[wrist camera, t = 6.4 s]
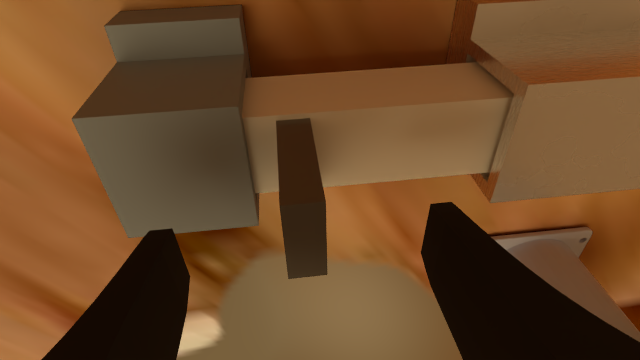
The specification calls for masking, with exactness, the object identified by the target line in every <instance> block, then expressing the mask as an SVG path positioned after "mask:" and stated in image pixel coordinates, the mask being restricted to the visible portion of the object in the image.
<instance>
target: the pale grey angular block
mask: <svg viewBox="0 0 640 360" xmlns="http://www.w3.org/2000/svg"><path fill="white" fill-rule="evenodd" d="M513 96H514V93H513V92H512V91H511V90H509V89H508V88H507V87H506V86H505V85H504V84H502V83H501V82H500V81H499V80H498V79H497V78H496V77H494V76H493V75H492V74H491V73H490V72H489V71H487V70H486V69H485V68H484V67H483V66H482V65H480V64H479V63H478V62H472V63H458V64H444V65H429V66H415V67H400V68H386V69H371V70H357V71H343V72H328V73H314V74H299V75H285V76H271V77H256V78H245V88H244V98H243V108H242V118H243V124H244V130H245V136H246V142H247V148H248V154H249V160H250V166H251V172H252V177H253V183H254V189H255V193H266V192H278V191H279V203H280V213H281V221H282V229H283V238H284V246H285V254H286V262H287V271H288V278H289V279H292V278H301V277H310V276H320V275H327V239H326V201H325V195H324V190H323V187H333V186H344V185H355V184H366V183H377V182H388V181H399V180H410V179H421V178H432V177H443V176H454V175H465V174H476V173H487V172H490V171H491V168H492V165H493V161H494V158H495V155H496V152H497V148H498V145H499V142H500V139H501V135H502V132H503V129H504V125H505V122H506V119H507V116H508V112H509V109H510V106H511V103H512V99H513Z"/></svg>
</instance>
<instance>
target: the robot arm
mask: <svg viewBox="0 0 640 360" xmlns="http://www.w3.org/2000/svg"><path fill="white" fill-rule="evenodd" d="M592 233H593V232H592V230H591V229H590V228H589V227H580V228H571V229H561V230H551V231H541V232H532V233H522V234H512V235H503V236H493V237H490V236H489V235H488V234H487V233H486V232H485V231H484V230H482V229H481V228H480V227H479V226H478V225H477V224H476V223H475V222H473V221H472V220H471V219H470V218H469V217H468V216H467V215H466V214H465V213H463V212H462V211H461V210H460V209H459V208H458V207H457V206H456V205H454V204H453V203H452V202H446V203H436V204H431V205H430V210H429V215H428V220H427V225H426V230H425V235H424V240H423V245H422V250H421V255H422V258H423V262H424V265H425V269H426V272H427V275H428V279H429V282H430V285H431V287H432V290H433V292H434V294H435V297H436V299H437V301H438V304H439V306H440V308H441V311H442V313H443V315H444V317H445V320H446V322H447V324H448V326H449V329H450V331H451V333H452V335H453V338H454V340H455V342H456V344H457V347H458V349H459V351H460V354H461V356H462V358H463V360H640V332H639V331H638V330H637V329H636V327H635V326H634V325H633V324H632V322H631V321H630V320H629V319H628V318H627V316H626V315H625V314H624V313H623V312H622V310H621V309H620V308H619V307H618V306H617V304H616V303H615V302H614V301H613V299H612V298H611V297H610V296H609V295H608V293H607V292H606V291H605V290H604V289H603V287H602V286H601V285H600V284H599V282H598V281H597V280H596V279H595V278H594V276H593V275H592V274H591V273H590V272H589V270H588V269H587V268H586V267H585V266H584V264H583V263H582V262H581V261H580V259H579V256H580V254H581V253H582V251H583V249H584V247H585V246H586V244H587V242H588V241H589V239H590V237H591V235H592ZM189 282H190V275H189V272H188V270H187V267H186V264H185V262H184V259H183V256H182V253H181V251H180V248H179V245H178V243H177V240H176V237H175V234H174V232H173V229H172V228H171V229H160V230H150V231H149V232H148V233H147V234H146V235H145V236H144V238H143V239H142V240H141V242H140V243H139V244H138V246H137V247H136V248H135V250H134V251H133V252H132V254H131V255H130V256H129V258H128V259H127V260H126V261H125V263H124V264H123V265H122V267H121V268H120V269H119V271H118V272H117V273H116V275H115V276H114V277H113V278H112V280H111V281H110V282H109V283H108V285H107V286H106V287H105V288H104V290H103V291H102V292H101V293H100V295H99V296H98V297H97V298H96V299H95V301H94V302H93V303H92V304H91V306H90V307H89V308H88V309H87V310H86V311H85V312H84V314H83V315H82V316H81V317H80V318H79V319H78V320H77V322H76V323H75V324H74V325H73V326H72V327H71V329H70V330H69V331H68V332H67V333H66V334H65V335H64V336H63V337H62V339H61V340H60V341H59V342H58V343H57V344H56V345H55V346H54V347H53V348H52V349H51V350H50V351H49V352H48V353H47V354H46V355H45V357H44V358H43V359H42V360H176V358H177V354H178V349H179V345H180V340H181V336H182V331H183V327H184V322H185V317H186V312H187V304H188V294H189Z"/></svg>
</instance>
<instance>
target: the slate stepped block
mask: <svg viewBox="0 0 640 360" xmlns="http://www.w3.org/2000/svg"><path fill="white" fill-rule="evenodd" d="M104 27H105V30H106V32H107V35H108V38H109V41H110V44H111V46H112V49H113V52H114V55H115V58H116V60H117V63H116V64H115V66H114V67H113V68H112V69H111V71H110V72H109V73H108V74H107V76H106V77H105V78H104V79H103V81H102V82H101V83H100V84H99V86H98V87H97V88H96V89H95V90H94V92H93V93H92V94H91V95H90V97H89V98H88V99H87V100H86V102H85V103H84V104H83V105H82V107H81V108H80V109H79V110H78V112H77V113H76V114H75V115H74V116H73V118H72V121H73V123H74V125H75V127H76V129H77V131H78V133H79V135H80V137H81V140H82V142H83V144H84V146H85V148H86V150H87V152H88V154H89V156H90V158H91V160H92V163H93V165H94V167H95V169H96V171H97V173H98V175H99V177H100V179H101V181H102V184H103V186H104V188H105V190H106V192H107V194H108V196H109V198H110V200H111V202H112V204H113V207H114V209H115V211H116V213H117V215H118V217H119V219H120V221H121V223H122V225H123V227H124V230H125V232H126V234H127V236H128V238H133V237H144V236H145V235H146V234H147V233H148V232H149V231H150V230H160V229H171V228H172V229H173V232H174V234H175V233H185V232H195V231H206V230H216V229H226V228H237V227H247V226H258V225H259V193H255V189H254V183H253V177H252V172H251V166H250V160H249V154H248V148H247V142H246V136H245V130H244V124H243V118H242V108H243V98H244V88H245V78H252V75H251V68H250V61H249V54H248V47H247V40H246V33H245V26H244V19H243V12H242V5H226V6H208V7H190V8H173V9H155V10H137V11H120V12H119V13H118V14H117V15H115V16H114V17H113V18H112V19H111V20H110V21H109V22H108V23H107V24H106V25H105V26H104Z"/></svg>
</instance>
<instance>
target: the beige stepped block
mask: <svg viewBox="0 0 640 360" xmlns="http://www.w3.org/2000/svg"><path fill="white" fill-rule="evenodd" d="M472 62H478V63H479V64H480V65H482V66H483V67H484V68H485V69H486V70H487V71H489V72H490V73H491V74H492V75H493V76H494V77H496V78H497V79H498V80H499V81H500V82H501V83H502V84H504V85H505V86H506V87H507V88H508V89H509V90H511V91H512V92H513V93H514V96H513V99H512V103H511V106H510V109H509V112H508V116H507V119H506V122H505V125H504V129H503V132H502V135H501V139H500V142H499V145H498V148H497V152H496V155H495V158H494V161H493V165H492V168H491V171H490V172H487V173H476V174H470V175H471V176H472V178H473V179H474V181H475V182H476V184H477V185H478V187H479V188H480V189H481V191H482V192H483V194H484V195H485V197H486V198H487V200H488V201H489V202H490V203H496V202H506V201H517V200H527V199H537V198H548V197H558V196H568V195H579V194H589V193H599V192H610V191H620V190H631V189H640V0H457V4H456V9H455V15H454V20H453V26H452V32H451V37H450V43H449V48H448V54H447V59H446V64H458V63H472Z"/></svg>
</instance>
